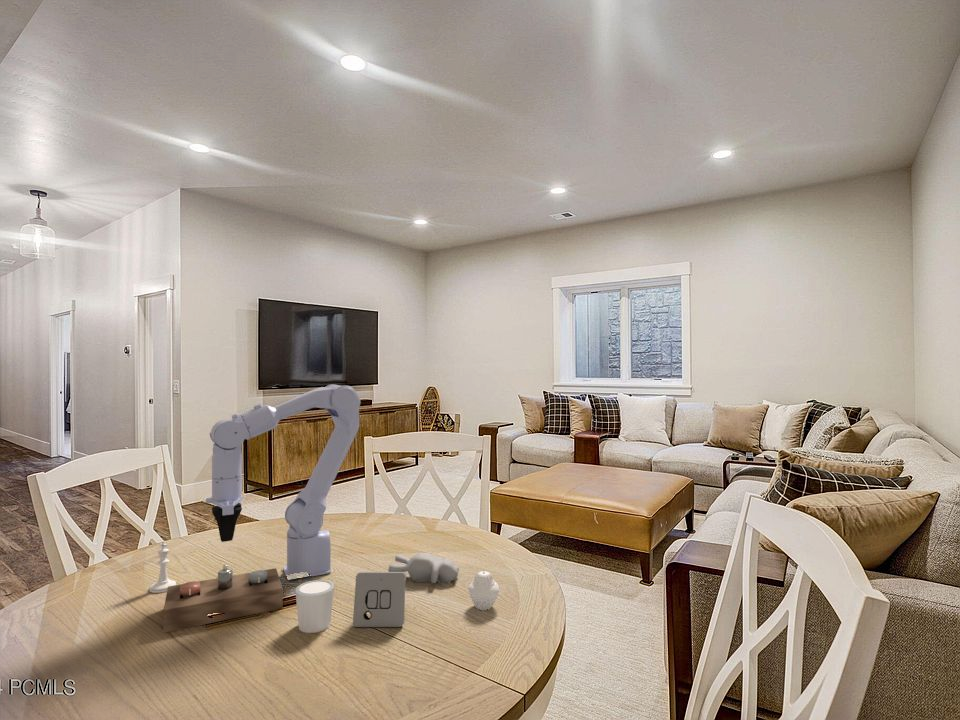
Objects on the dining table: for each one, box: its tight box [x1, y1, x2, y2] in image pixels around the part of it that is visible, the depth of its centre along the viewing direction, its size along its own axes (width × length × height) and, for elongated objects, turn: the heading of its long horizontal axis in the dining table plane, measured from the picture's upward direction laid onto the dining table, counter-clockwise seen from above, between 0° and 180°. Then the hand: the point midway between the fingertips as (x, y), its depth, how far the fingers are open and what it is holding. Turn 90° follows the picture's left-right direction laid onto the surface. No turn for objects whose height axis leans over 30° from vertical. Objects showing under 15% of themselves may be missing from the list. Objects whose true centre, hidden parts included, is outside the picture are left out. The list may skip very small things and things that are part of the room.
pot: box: [217, 564, 233, 590], centre depth 102 cm, size 3×3×4 cm
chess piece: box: [149, 540, 177, 594], centre depth 111 cm, size 5×5×10 cm
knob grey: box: [249, 569, 267, 586], centre depth 104 cm, size 3×4×5 cm
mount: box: [162, 568, 284, 634], centre depth 102 cm, size 20×11×4 cm, turn 118°
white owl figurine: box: [467, 570, 500, 611], centre depth 102 cm, size 6×6×7 cm
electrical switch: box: [352, 571, 407, 628], centre depth 97 cm, size 9×5×9 cm, turn 90°
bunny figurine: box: [387, 552, 460, 584], centre depth 116 cm, size 10×5×15 cm
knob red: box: [180, 581, 200, 598], centre depth 99 cm, size 3×4×5 cm
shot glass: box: [294, 579, 335, 634], centre depth 95 cm, size 7×7×7 cm
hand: (226, 540), depth 110 cm, fingers closed
